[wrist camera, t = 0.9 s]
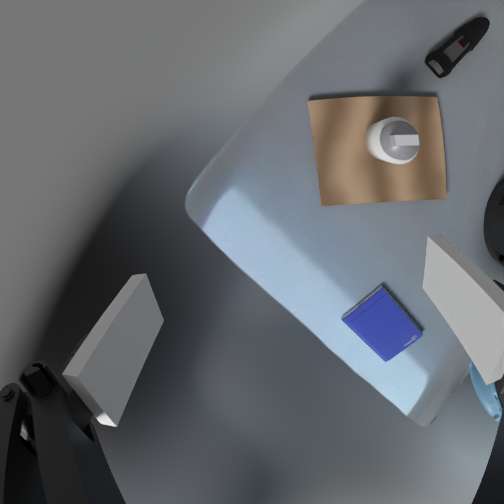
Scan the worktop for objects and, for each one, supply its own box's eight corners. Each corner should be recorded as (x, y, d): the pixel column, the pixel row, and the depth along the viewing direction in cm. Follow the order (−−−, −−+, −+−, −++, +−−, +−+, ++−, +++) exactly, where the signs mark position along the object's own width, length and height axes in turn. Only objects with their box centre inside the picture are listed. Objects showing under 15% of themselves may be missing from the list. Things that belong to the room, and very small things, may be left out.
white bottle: (397, 121, 32) (427, 114, 21) (402, 159, 33) (433, 166, 23) (361, 122, 33) (378, 114, 23) (366, 161, 35) (384, 167, 24)
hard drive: (423, 335, 41) (382, 288, 40) (385, 363, 44) (341, 321, 43) (421, 330, 42) (380, 283, 41) (384, 357, 46) (341, 315, 45)
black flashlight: (488, 34, 23) (497, 29, 20) (440, 81, 29) (448, 76, 26) (472, 16, 23) (480, 9, 20) (421, 60, 28) (428, 54, 26)
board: (434, 98, 30) (437, 97, 29) (443, 197, 34) (446, 198, 33) (307, 102, 34) (307, 100, 34) (321, 204, 39) (321, 206, 38)
